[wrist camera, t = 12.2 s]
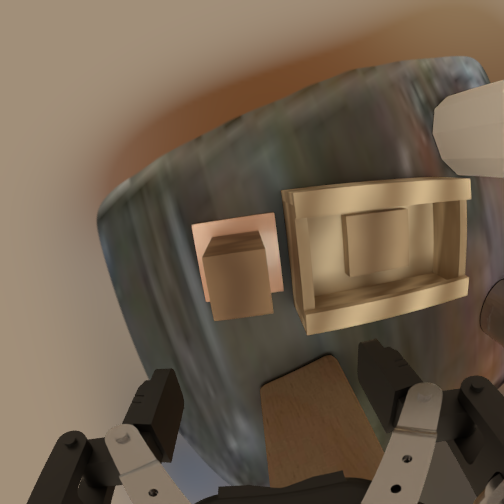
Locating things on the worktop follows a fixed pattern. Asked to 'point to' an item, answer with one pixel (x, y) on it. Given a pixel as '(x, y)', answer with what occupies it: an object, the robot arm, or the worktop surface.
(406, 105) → the worktop surface
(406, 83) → the worktop surface
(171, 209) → the worktop surface
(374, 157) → the worktop surface
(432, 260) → the crate
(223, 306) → the walnut block
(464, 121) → the toilet paper
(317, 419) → the wooden block
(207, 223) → the tile
